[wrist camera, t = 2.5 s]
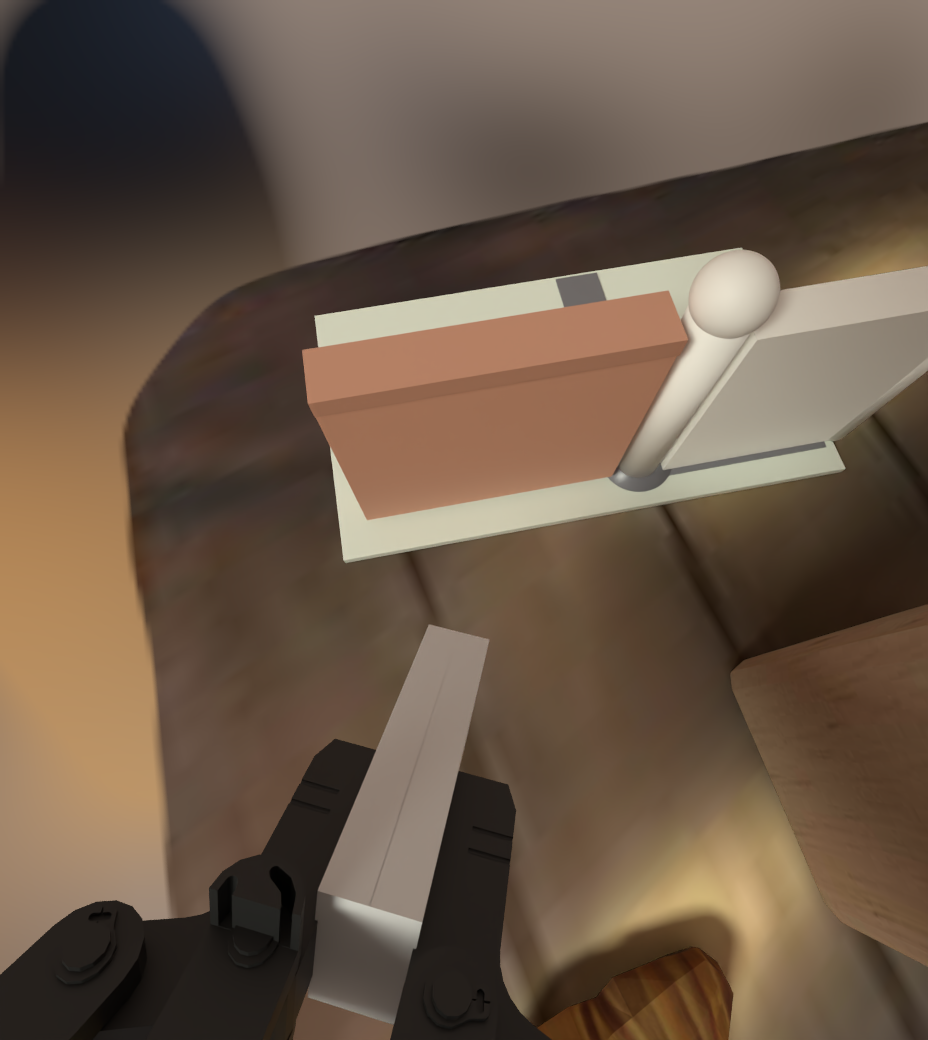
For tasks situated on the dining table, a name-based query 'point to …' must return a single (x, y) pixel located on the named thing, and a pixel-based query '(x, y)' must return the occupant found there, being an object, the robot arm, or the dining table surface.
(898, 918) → the wooden block
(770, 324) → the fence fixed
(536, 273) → the dining table surface
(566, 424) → the terracotta rectangular slab
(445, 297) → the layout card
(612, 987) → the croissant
